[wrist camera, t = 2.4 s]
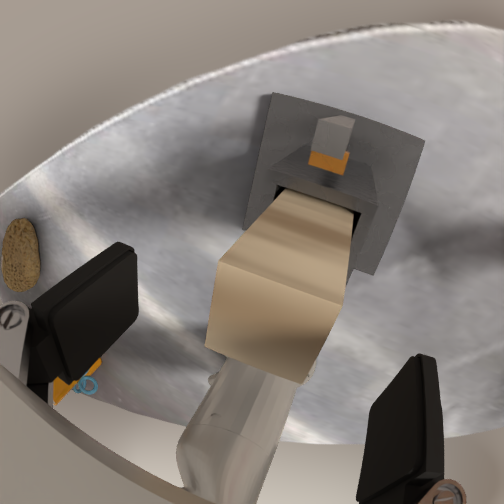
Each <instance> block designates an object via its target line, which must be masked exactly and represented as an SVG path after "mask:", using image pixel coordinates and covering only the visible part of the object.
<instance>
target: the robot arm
mask: <svg viewBox="0 0 504 504" xmlns="http://www.w3.org/2000/svg"><path fill="white" fill-rule="evenodd" d="M31 305H32V308H31V309H30V310H28V307H27V306H26V305H25V304H24V303H22V302H19V301H9V302H6V303H3V304H1V305H0V504H256V503H257V500H258V497H259V494H260V491H261V489H262V486H263V483H264V480H265V478H266V475H267V473H268V470H269V467H270V465H271V462H272V459H273V457H274V454H275V451H276V449H277V446H278V443H279V440H280V437H281V435H282V432H283V429H284V426H285V423H286V420H287V417H288V414H289V411H290V408H291V405H292V402H293V399H294V396H295V393H296V390H297V387H300V386H302V385H304V384H305V383H306V382H308V381H309V380H310V378H311V377H312V376H313V373H314V371H315V367H316V360H315V362H314V364H313V366H312V368H311V369H310V371H309V373H308V375H307V377H306V379H305V380H304V382H303V384H302V385H301V384H299V383H296V382H293V381H290V380H287V379H284V378H282V377H279V376H276V375H273V374H271V373H268V372H265V371H263V370H260V369H258V368H255V367H252V366H250V365H247V364H245V363H242V362H240V361H237V360H235V359H233V358H230V357H228V356H225V357H226V361H225V363H224V364H223V366H222V368H221V370H220V371H219V372H218V373H216V374H213V375H211V376H209V378H208V382H209V384H210V385H211V387H210V388H209V390H208V392H207V394H206V395H205V397H204V399H203V400H202V402H201V404H200V405H199V407H198V409H197V410H196V412H195V414H194V415H193V417H192V419H191V420H190V422H189V424H188V425H187V427H186V429H185V430H184V432H183V434H182V436H181V437H180V439H179V441H178V445H177V451H176V459H177V464H178V468H179V472H180V475H181V478H182V481H183V484H184V487H183V488H179V487H177V486H174V485H172V484H170V483H168V482H166V481H164V480H162V479H160V478H158V477H157V476H154V475H153V474H151V473H149V472H147V471H145V470H143V469H142V468H140V467H138V466H136V465H135V464H133V463H131V462H130V461H128V460H126V459H124V458H123V457H121V456H120V455H118V454H116V453H115V452H113V451H111V450H110V449H108V448H107V447H105V446H104V445H102V444H101V443H99V442H98V441H96V440H95V439H93V438H92V437H90V436H89V435H87V434H86V433H85V432H83V431H82V430H80V429H79V428H78V427H76V426H75V425H74V424H72V423H71V422H70V421H68V420H67V419H66V418H64V417H63V416H62V415H60V414H59V413H58V412H57V411H56V410H54V409H53V382H54V380H55V379H56V378H57V377H58V378H60V379H61V380H62V381H64V382H65V383H66V384H68V385H70V384H71V383H72V382H73V381H77V380H79V379H80V378H81V377H82V376H83V375H84V374H85V373H86V372H87V371H88V370H89V369H90V368H91V367H92V365H93V364H94V363H95V362H96V361H97V360H98V359H99V358H100V357H101V356H102V355H103V354H104V353H105V352H106V351H107V350H108V349H109V348H110V346H111V345H112V344H113V343H114V342H115V341H116V340H117V339H118V338H119V337H120V336H121V335H122V334H123V333H124V332H125V331H126V330H127V329H128V328H129V327H130V326H131V325H132V324H133V323H134V322H135V320H136V319H137V317H138V313H139V307H138V278H137V255H136V253H135V252H134V249H133V248H132V247H131V246H128V245H126V244H124V243H121V242H116V243H114V244H113V245H111V246H110V247H108V248H107V249H105V250H104V251H103V252H101V253H100V254H98V255H97V256H95V257H94V258H92V259H91V260H90V261H88V262H87V263H85V264H84V265H82V266H81V267H80V268H78V269H77V270H75V271H74V272H73V273H71V274H70V275H68V276H67V277H66V278H64V279H63V280H62V281H60V282H59V283H57V284H56V285H55V286H53V287H52V288H51V289H49V290H48V291H47V292H45V293H44V294H43V295H42V296H40V297H39V298H38V299H36V300H35V301H34V302H32V303H31ZM356 501H358V502H359V504H466V494H465V491H464V489H463V487H462V486H461V484H459V483H458V482H457V481H455V480H452V479H444V433H443V415H442V407H441V400H440V390H439V381H438V372H437V365H436V360H435V358H433V357H430V356H426V355H423V354H417V355H416V356H415V357H414V356H412V357H410V358H409V360H408V361H407V362H406V364H405V365H404V366H403V367H402V369H401V370H400V371H399V373H398V374H397V375H396V376H395V378H394V379H393V380H392V381H391V383H390V384H389V385H388V386H387V388H386V389H385V390H384V391H383V392H382V394H381V395H380V396H379V397H378V398H377V400H376V401H375V402H374V403H373V405H372V406H371V409H370V412H369V420H368V428H367V435H366V442H365V449H364V456H363V462H362V468H361V473H360V479H359V484H358V489H357V494H356Z"/></svg>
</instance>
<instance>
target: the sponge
mask: <svg viewBox="0 0 504 504" xmlns="http://www.w3.org/2000/svg"><path fill="white" fill-rule="evenodd" d="M2 255H3V256H1V268H2V273H3V277H4V282H5V283H6V284H7V287H8V288H10V289H12V290H13V291H16V292H19V291H20V292H24V291H26V290H28V289H30V288H32V287H33V286H34V285H35V284H36V283H37V280H38V278H39V275H40V257H39V252H38V239H37V236H36V232H35V229H34V227H33V225H32V224H31V223H30V222H29V221H28V219H25V218H22V219H15V220H13V221H12V222H11V224H10V225H9V226H8V228H7V230H6V234H5V237H4V240H3V248H2Z"/></svg>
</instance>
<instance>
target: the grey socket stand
mask: <svg viewBox="0 0 504 504" xmlns="http://www.w3.org/2000/svg"><path fill="white" fill-rule="evenodd" d="M424 143H425V140H423V139H420V138H418V137H415V136H413V135H411V134H408V133H406V132H403V131H400V130H398V129H395V128H393V127H390V126H387V125H385V124H382V123H379V122H376V121H373V120H370V119H368V118H365V117H362V116H359V115H355V114H352V113H349V112H346V111H343V110H340V109H336V108H333V107H329V106H326V105H322V104H319V103H315V102H311V101H308V100H304V99H300V98H296V97H292V96H288V95H283V94H279V93H274V92H273V93H272V97H271V102H270V106H269V111H268V115H267V120H266V124H265V128H264V133H263V137H262V142H261V146H260V151H259V155H258V160H257V165H256V169H255V174H254V178H253V183H252V188H251V192H250V197H249V201H248V206H247V211H246V215H245V220H244V225H243V230H245V231H246V230H247V229H248V228H249V227H250V226H251V225H252V224H253V223H254V222H255V221H256V220H257V219H258V217H259V216H260V215H261V214H262V213H263V212H264V211H265V210H266V209H267V208H268V207H269V206H270V205H271V204H272V203H273V201H274V200H275V199H276V198H277V197H278V196H279V195H280V194H281V193H282V192H283V191H284V190H285V189H286V188H289V189H292V190H296V191H299V192H302V193H305V194H308V195H311V196H314V197H317V198H320V199H323V200H326V201H329V202H332V203H335V204H338V205H340V206H343V207H346V208H349V209H352V210H354V214H353V225H352V236H351V245H350V254H349V262H348V270H347V278H346V285H347V282H348V280H349V278H350V276H351V273H352V271H353V269H356V270H359V271H362V272H365V273H367V274H370V275H374V273H375V271H376V269H377V266H378V264H379V262H380V260H381V258H382V255H383V253H384V251H385V248H386V246H387V244H388V241H389V239H390V237H391V234H392V232H393V229H394V227H395V224H396V222H397V219H398V217H399V214H400V212H401V209H402V207H403V204H404V201H405V199H406V196H407V193H408V191H409V188H410V185H411V182H412V180H413V177H414V174H415V171H416V168H417V165H418V162H419V159H420V156H421V153H422V150H423V147H424ZM345 287H346V286H345Z"/></svg>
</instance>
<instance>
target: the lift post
mask: <svg viewBox="0 0 504 504" xmlns="http://www.w3.org/2000/svg"><path fill="white" fill-rule="evenodd" d="M353 214H354V210H352V209H349V208H346V207H343V206H340V205H338V204H335V203H332V202H329V201H326V200H323V199H320V198H317V197H314V196H311V195H308V194H305V193H302V192H299V191H296V190H292V189H289V188H286V189H285V190H284V191H283V192H282V193H281V194H280V195H279V196H278V197H277V198H276V199H275V200H274V201H273V203H272V204H271V205H270V206H269V207H268V208H267V209H266V210H265V211H264V212H263V213H262V214H261V215H260V216H259V217H258V219H257V220H256V221H255V222H254V223H253V224H252V225H251V226H250V227H249V228H248V229H247V230H246V231H245V233H244V234H243V235H242V236H241V237H240V238H239V239H238V240H237V241H236V242H235V243H234V244H233V246H232V247H231V248H230V249H229V250H228V251H227V252H226V253H225V254H224V255H223V256H222V257H221V259H220V260H219V261H218V267H217V272H216V278H215V284H214V290H213V296H212V302H211V309H210V315H209V321H208V327H207V334H206V340H205V347H207V348H209V349H211V350H213V351H216V352H218V353H221V354H223V355H225V356H228V357H230V358H233V359H235V360H237V361H240V362H242V363H245V364H247V365H250V366H252V367H255V368H258V369H260V370H263V371H265V372H268V373H271V374H273V375H276V376H279V377H282V378H284V379H287V380H290V381H293V382H296V383H299V384H301V385H302V384H303V382H304V380H305V379H306V377H307V375H308V373H309V371H310V369H311V368H312V366H313V364H314V362H315V360H316V358H317V356H318V354H319V352H320V350H321V349H322V347H323V345H324V343H325V341H326V339H327V337H328V335H329V333H330V331H331V329H332V327H333V325H334V323H335V321H336V318H337V316H338V314H339V312H340V310H341V308H342V306H343V299H344V293H345V286H346V278H347V270H348V262H349V254H350V245H351V236H352V225H353Z"/></svg>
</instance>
